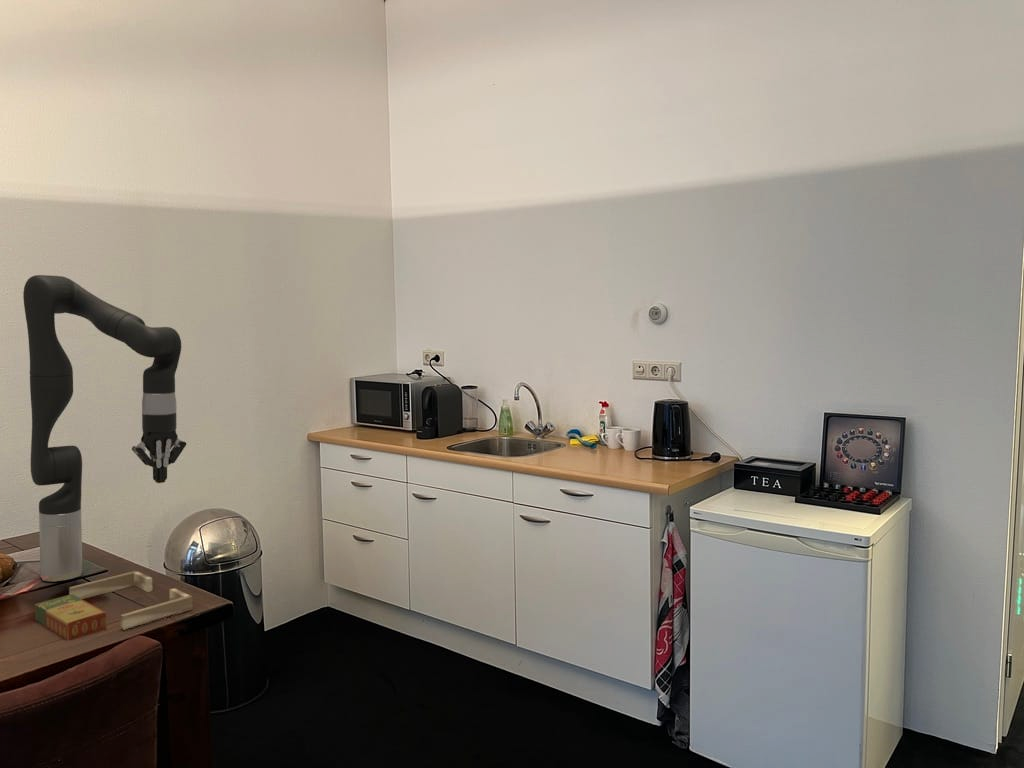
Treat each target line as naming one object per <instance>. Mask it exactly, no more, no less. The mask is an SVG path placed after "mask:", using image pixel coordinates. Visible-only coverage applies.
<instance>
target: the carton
mask: <svg viewBox="0 0 1024 768" xmlns="http://www.w3.org/2000/svg"><path fill="white" fill-rule="evenodd" d="M34 616H35V619H34V620H35V621H36V622H37V623H39V624H41V625H43V626H45V627H46V628H48V630H51V631H52V632H53V633H56V634H58V636H60V637H62V638H64V639H65V640H67V641H69V639H70V640H73V639H76V638H79V637H84V636H86V635H91V634H94V633H97V632H100V631H99V630H101V631H104V630H106V629H107V613H106V611H105V610H102V609H101V608H99V607H97V606H96V605H93V604H92V603H89V602H88V601H86V600H84V599H80V598H79V597H77V596H75V595H73V594H70V595H69V594H68V595H64V596H60V597H56V598H52V599H48V600H45V601H42V602H41V601H40V602H38V603H35V604H34ZM103 629H104V630H103ZM96 631H97V632H96ZM93 632H94V633H93ZM83 635H84V636H83Z"/></svg>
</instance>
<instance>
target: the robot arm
mask: <svg viewBox="0 0 1024 768" xmlns="http://www.w3.org/2000/svg"><path fill="white" fill-rule="evenodd" d="M22 298H23V307H24V308H23V309H24V313H25V315H24V316H25V321H26V328H27V334H28V335H27V337H28V355H29V389H30V391H29V392H30V406H31V445H30V474H31V480H32V482H33V483H34V485H36V486H42V487H43V486H50V485H59V484H60V485H61V484H63V485H62V487H60V488H59V489H58V490H56V491H55V492H53V493H52V494H49V495H47V496H45V497H42V498H41V499H40V500H39V503H38V524H39V555H40V556H39V560H40V563H39V564H40V565H39V567H40V568H39V569H40V576H41V575H43V576H58V575H64V574H68V573H71V572H74V571H77V570H79V569H81V568H82V569H83V536H82V535H83V533H82V531H83V530H82V529H83V527H82V483H83V482H82V481H83V478H82V476H83V457H82V453H81V451H80V449H79V447H78V446H77V445H63V446H62V445H60V446H51V447H50V446H49V442H50V438H51V433H52V430H53V428H54V427H55V425H56V422H58V420H59V418H60V416H61V415H62V413H63V412H64V411H65V409H66V408H67V406H68V405H69V403H70V402H71V399H72V397H73V394H74V370H73V369H74V368H73V365H72V362H71V361H70V358H69V356H68V355H67V353H66V352H65V349H64V348H63V346H62V344H61V342H60V341H59V338H58V335H57V332H56V331H57V330H56V322H55V315H57V314H58V315H59V314H65V313H66V314H70V315H74V316H78V317H81V318H83V319H86V320H88V321H89V322H90V323H91V324H93V326H94V327H95V328H96V329H97V330H98V331H100V333H102V334H105V335H106V336H108V337H110V338H113V339H114V340H117V341H120V342H122V343H124V344H125V345H126V346H127V347H129V348H130V349H131V350H132V351H134V352H135V353H136V354H139V355H141V356H143V357H145V358H153V361H152V364H151V365H150V366H149V367H147V368H145V369H144V370H143V373H142V399H141V421H142V422H141V429H142V436H141V438H140V442H139V443H138V444H137V445H133V446H132V447H131V451H132V452H133V454H134V455H136V456H137V457H138V459H139V460H140V461H141V462H142V463H143V464H144V465H145V466H149V467H151V468H152V479H153V481H155V483H156V484H164V483H165V482H166V480H167V479H168V467H169V465H171V464H174V463H175V462H176V461H177V460H178V458H179V456H180V455H181V453H182V452H183V450H185V447H186V446H187V442H186V441H183V440H181V439H180V438H178V434H177V408H178V406H177V397H176V378H175V377H176V372H177V369H178V365H179V361H180V357H181V352H182V339H181V336H180V334H179V333H178V332H177V330H176V329H175V328H173V327H170V326H161V327H160V326H157V327H153V326H148V325H146V323H145V321H144V320H143V319H142V318H141V317H139V316H137V315H136V314H133V313H130V311H129V312H128V311H127V310H124V309H122V308H120V307H118V306H114V305H113V304H111V303H108V302H107V301H104V300H103V299H102V298H99V297H97V295H95V294H92V293H91V292H89V291H88V290H87V289H85V288H84V287H82V286H81V285H80V284H78V283H77V282H76V281H74V280H72V279H71V278H68V277H65V276H60V275H49V274H37V275H32V276H30V277H29V278H28V279H27V280H26V282H25V284H24V287H23V297H22ZM146 451H148V452H149V453H148V454H149V455H148V454H147V453H146Z"/></svg>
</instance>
